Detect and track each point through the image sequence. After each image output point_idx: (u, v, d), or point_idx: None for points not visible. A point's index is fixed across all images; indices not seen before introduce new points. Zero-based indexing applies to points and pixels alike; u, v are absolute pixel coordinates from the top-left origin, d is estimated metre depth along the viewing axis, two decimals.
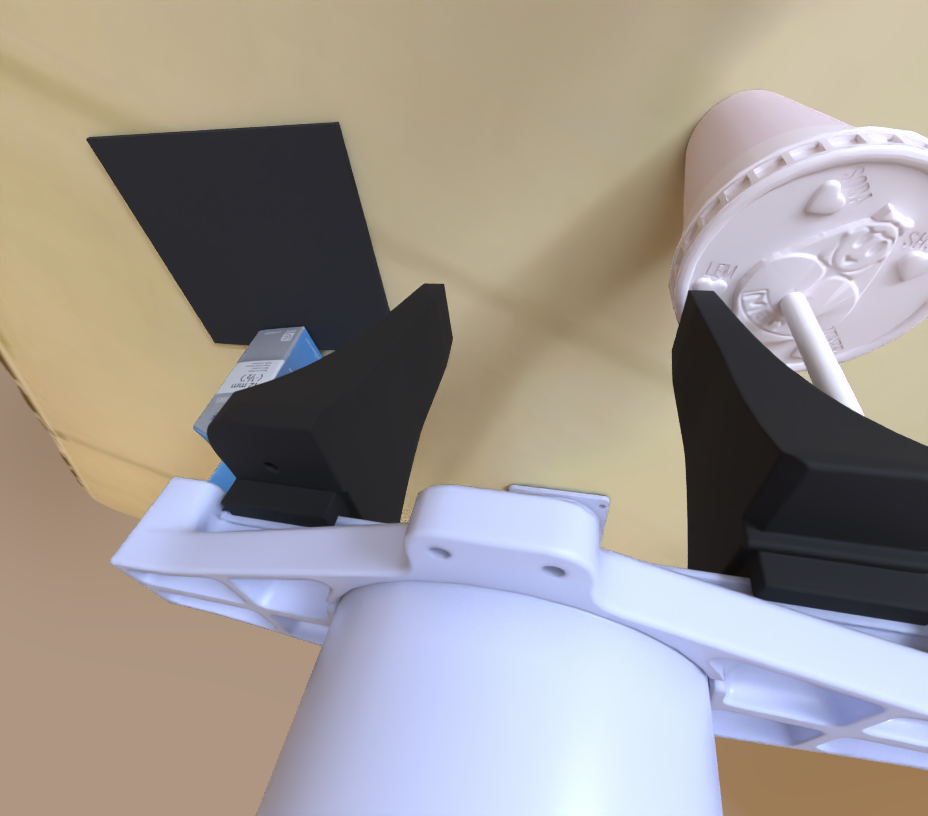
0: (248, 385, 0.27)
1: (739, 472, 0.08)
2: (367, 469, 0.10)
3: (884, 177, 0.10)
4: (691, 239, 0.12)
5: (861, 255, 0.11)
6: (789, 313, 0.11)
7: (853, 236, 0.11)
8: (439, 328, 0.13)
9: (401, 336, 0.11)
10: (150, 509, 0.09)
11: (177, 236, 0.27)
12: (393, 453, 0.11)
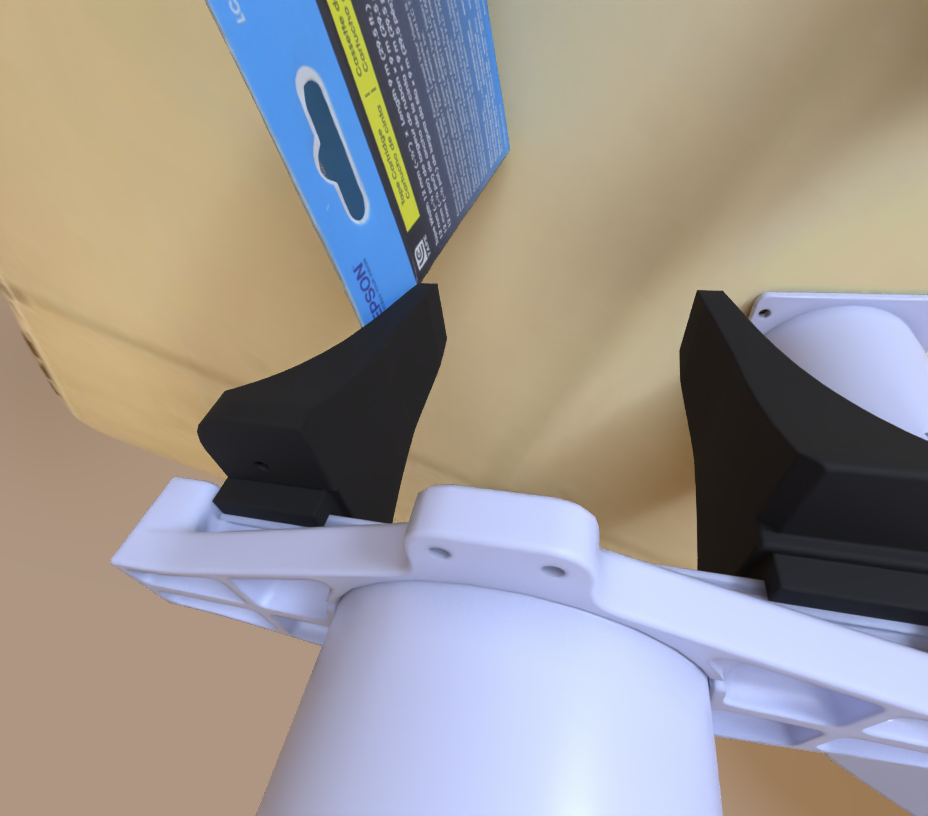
0: None
1: (753, 473, 0.08)
2: (359, 468, 0.10)
3: None
4: None
5: None
6: None
7: None
8: (432, 328, 0.13)
9: (394, 336, 0.11)
10: (150, 509, 0.09)
11: None
12: (385, 452, 0.11)
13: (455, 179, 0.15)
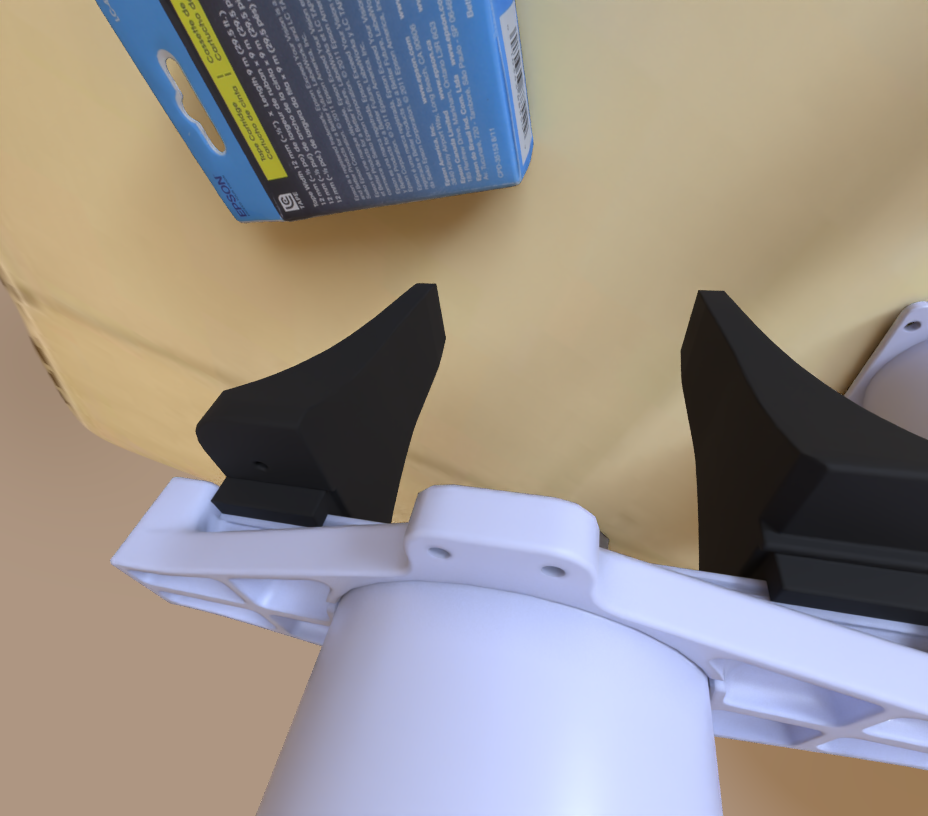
0: None
1: (754, 473, 0.08)
2: (357, 468, 0.10)
3: None
4: None
5: None
6: None
7: None
8: (431, 328, 0.13)
9: (393, 336, 0.11)
10: (150, 509, 0.09)
11: None
12: (384, 452, 0.11)
13: (354, 170, 0.16)
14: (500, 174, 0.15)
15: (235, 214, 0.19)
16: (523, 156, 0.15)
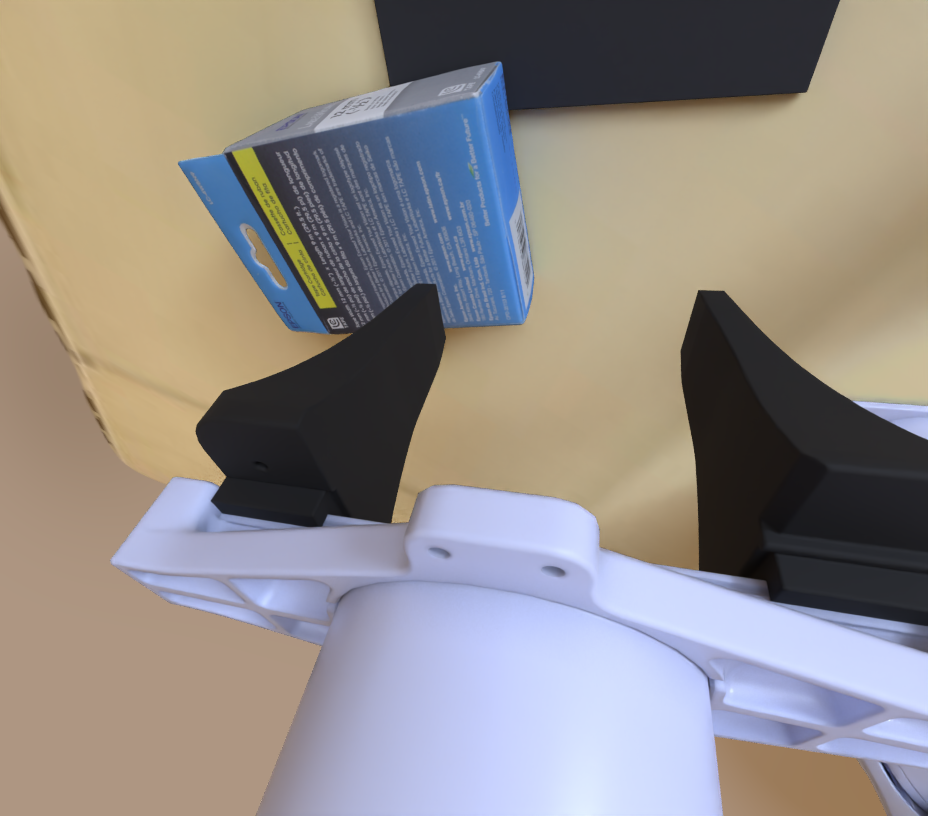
0: (341, 110, 0.16)
1: (755, 473, 0.08)
2: (357, 468, 0.10)
3: None
4: None
5: None
6: None
7: None
8: (431, 328, 0.13)
9: (392, 336, 0.11)
10: (150, 509, 0.09)
11: None
12: (384, 452, 0.11)
13: None
14: (508, 317, 0.20)
15: (289, 326, 0.23)
16: (526, 302, 0.20)
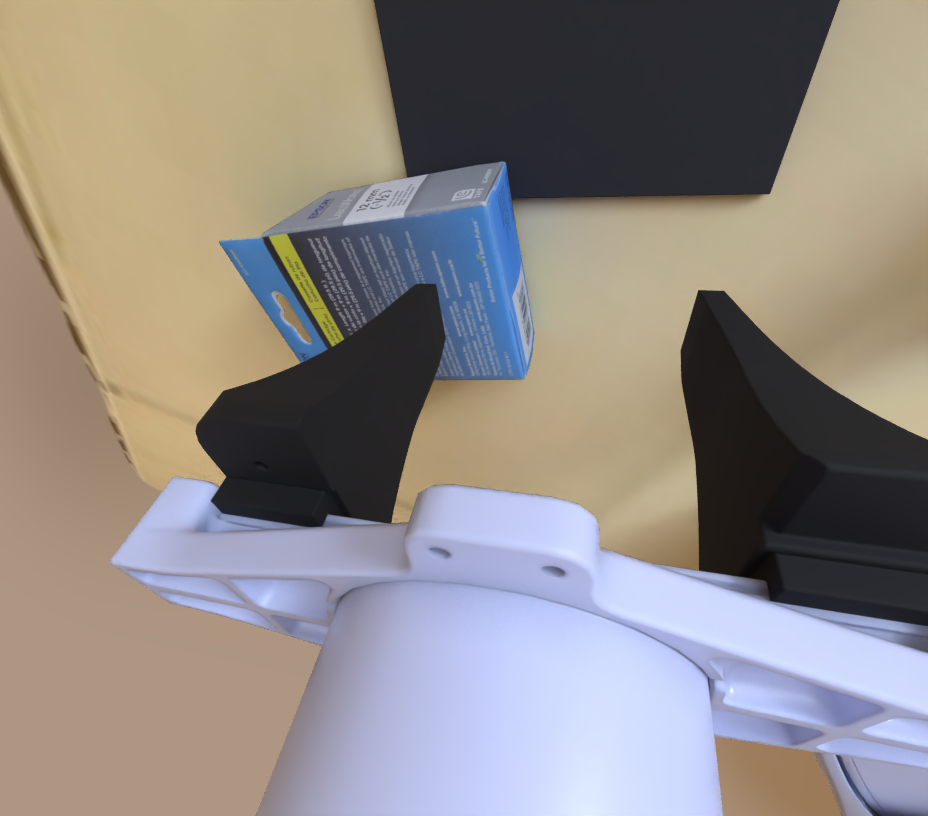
0: (366, 203, 0.18)
1: (755, 474, 0.08)
2: (357, 468, 0.10)
3: None
4: None
5: None
6: None
7: None
8: (431, 328, 0.13)
9: (393, 336, 0.11)
10: (150, 509, 0.09)
11: None
12: (384, 452, 0.11)
13: None
14: (511, 373, 0.22)
15: None
16: (527, 359, 0.22)
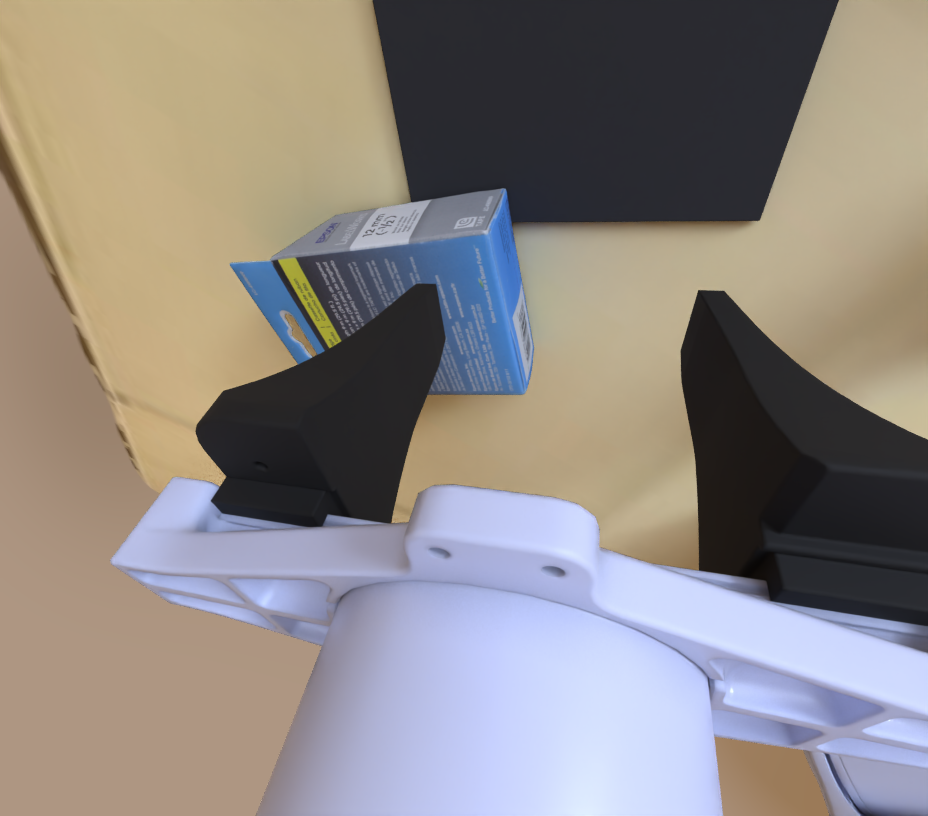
0: (371, 228, 0.19)
1: (755, 474, 0.08)
2: (357, 468, 0.10)
3: None
4: None
5: None
6: None
7: None
8: (431, 328, 0.13)
9: (393, 336, 0.11)
10: (150, 509, 0.09)
11: None
12: (384, 452, 0.11)
13: None
14: (511, 389, 0.23)
15: None
16: (527, 375, 0.23)
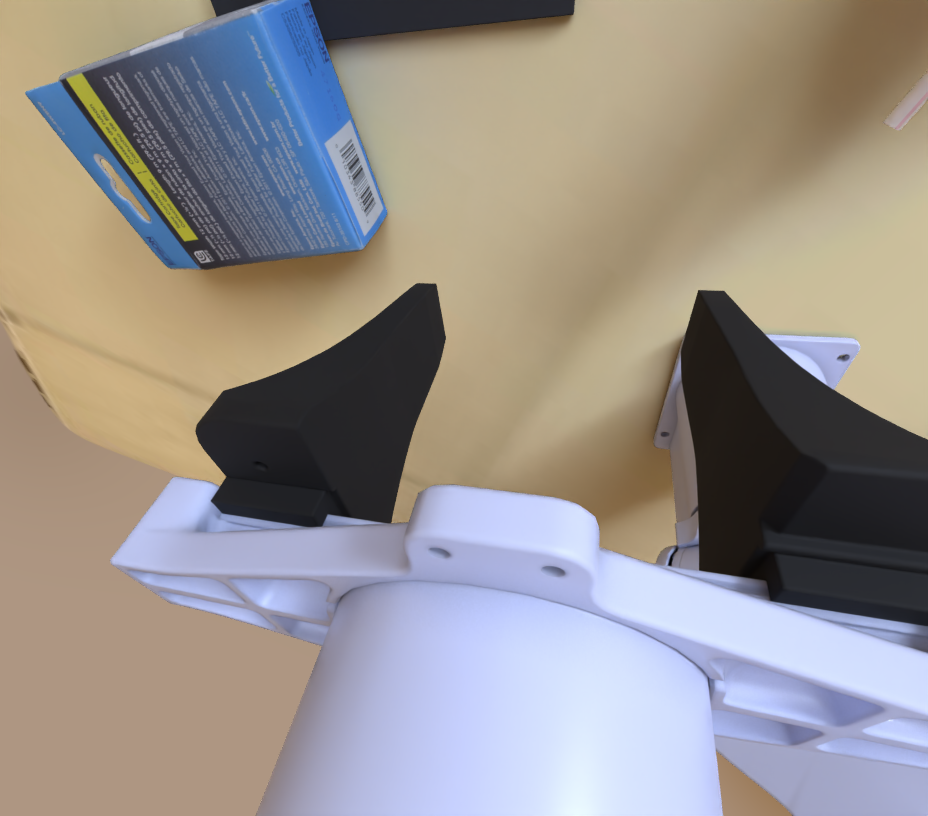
0: (161, 37, 0.17)
1: (754, 474, 0.08)
2: (357, 468, 0.10)
3: None
4: None
5: None
6: None
7: None
8: (431, 328, 0.13)
9: (393, 336, 0.11)
10: (150, 509, 0.09)
11: None
12: (384, 452, 0.11)
13: (245, 237, 0.22)
14: (347, 243, 0.21)
15: (165, 263, 0.25)
16: (365, 229, 0.21)
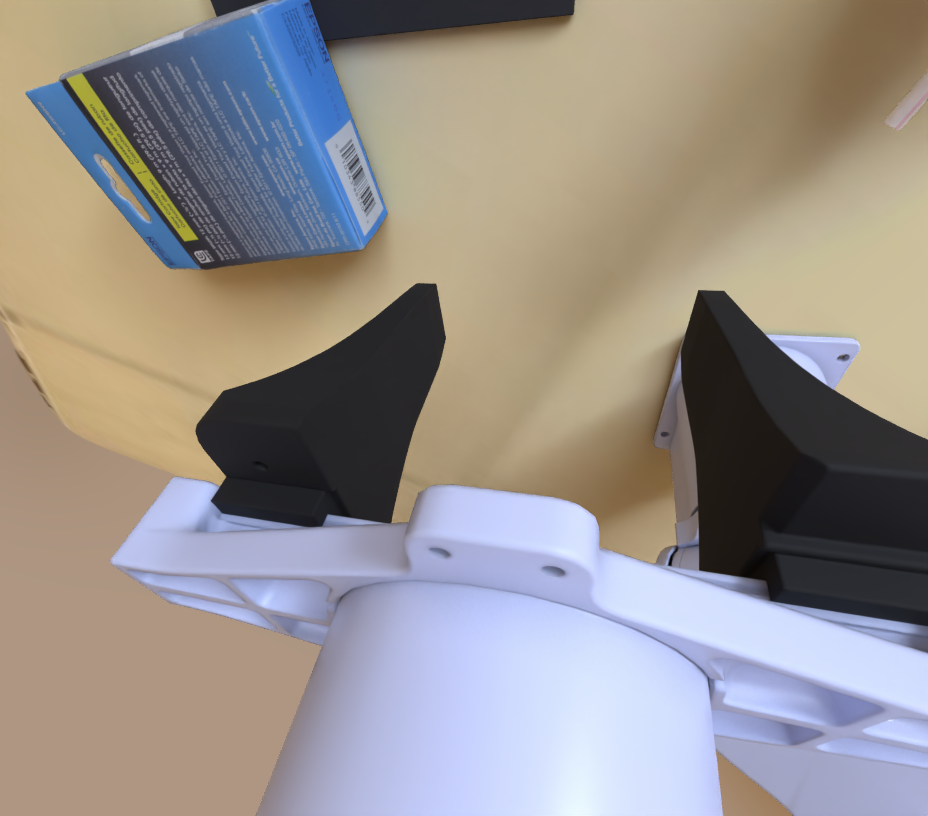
0: (161, 37, 0.17)
1: (754, 474, 0.08)
2: (357, 468, 0.10)
3: None
4: None
5: None
6: None
7: None
8: (431, 328, 0.13)
9: (393, 336, 0.11)
10: (150, 509, 0.09)
11: None
12: (384, 452, 0.11)
13: (245, 237, 0.22)
14: (347, 243, 0.21)
15: (165, 263, 0.25)
16: (365, 229, 0.21)
